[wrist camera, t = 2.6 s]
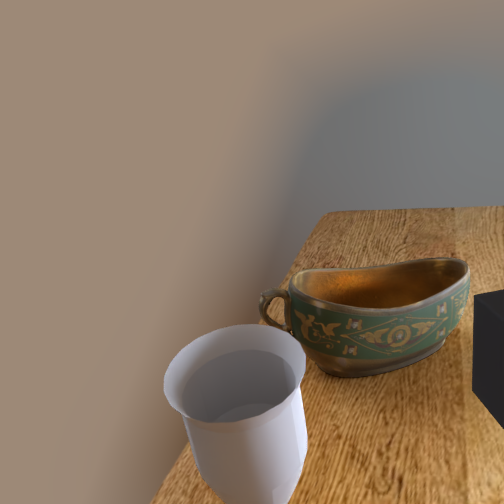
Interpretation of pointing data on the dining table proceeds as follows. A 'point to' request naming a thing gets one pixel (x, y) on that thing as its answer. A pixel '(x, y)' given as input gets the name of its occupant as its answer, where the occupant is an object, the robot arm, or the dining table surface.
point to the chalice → (243, 411)
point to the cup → (372, 313)
